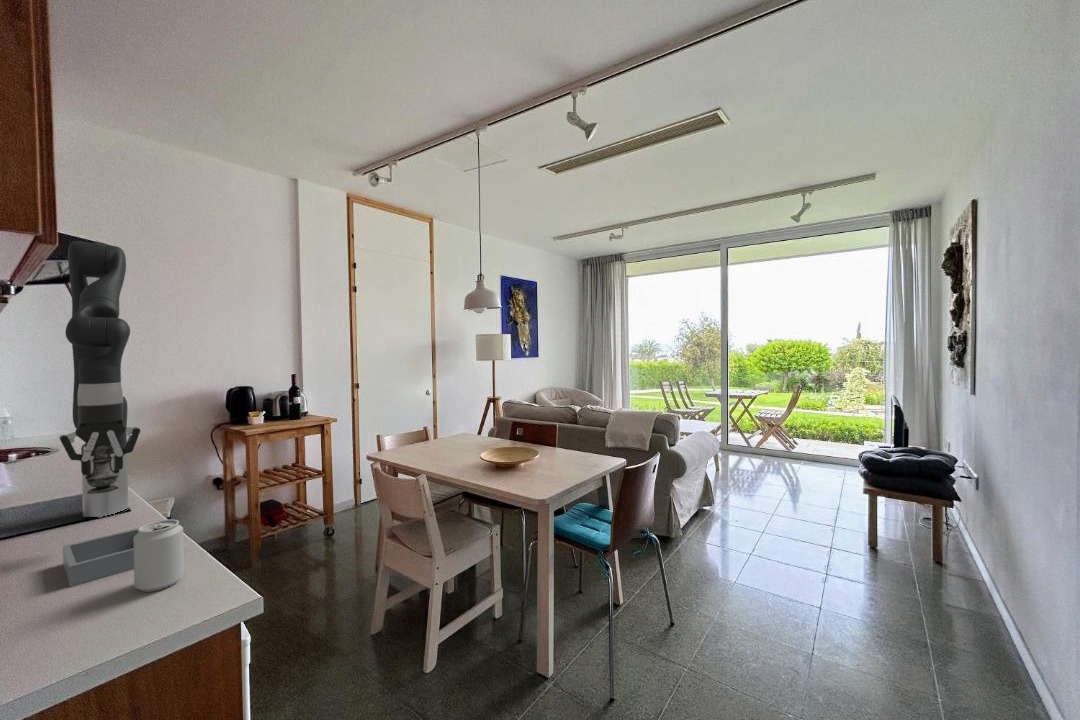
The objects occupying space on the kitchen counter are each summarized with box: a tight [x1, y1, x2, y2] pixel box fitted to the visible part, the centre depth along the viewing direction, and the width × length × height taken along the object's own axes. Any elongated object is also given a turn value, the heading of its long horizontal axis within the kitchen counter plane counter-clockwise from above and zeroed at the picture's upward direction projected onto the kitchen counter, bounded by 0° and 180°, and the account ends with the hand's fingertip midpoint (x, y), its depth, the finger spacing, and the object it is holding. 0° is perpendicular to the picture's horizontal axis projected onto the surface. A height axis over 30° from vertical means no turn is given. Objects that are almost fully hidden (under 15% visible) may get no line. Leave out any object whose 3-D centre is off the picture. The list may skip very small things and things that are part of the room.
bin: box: [62, 527, 140, 587], centre depth 96 cm, size 14×14×4 cm
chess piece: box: [85, 444, 120, 494], centre depth 104 cm, size 6×6×12 cm
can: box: [133, 519, 185, 593], centre depth 88 cm, size 8×8×12 cm
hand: (102, 473), depth 104 cm, fingers closed on chess piece, 4 cm apart
